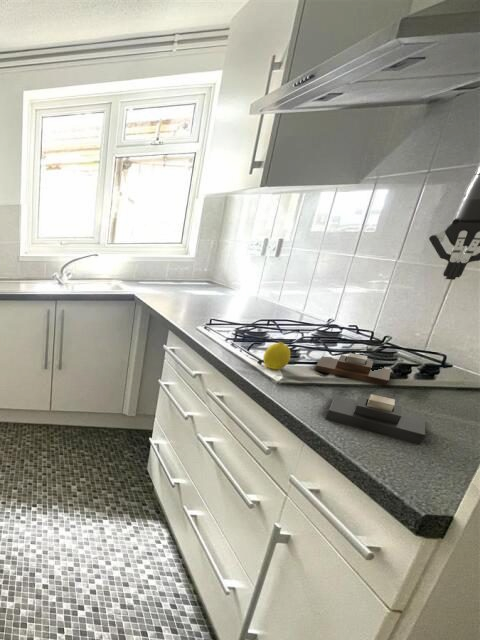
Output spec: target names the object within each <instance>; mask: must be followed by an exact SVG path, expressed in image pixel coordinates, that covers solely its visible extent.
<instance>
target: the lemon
mask: <svg viewBox="0 0 480 640" xmlns="http://www.w3.org/2000/svg"><path fill="white" fill-rule="evenodd" d="M290 359H291V349H290V347H289V346H288V345H286V344H285V343H284V342H282V341H280V342H276V343H273V344H271V345H269V346H268V347H267V349H266V350H265V352H264V354H263V363H264V366H265V367H267V368H268V369H271V370H281V369H283V368H285V367H286V366H287V365H288V363H289V362H290Z"/></svg>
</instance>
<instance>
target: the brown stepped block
mask: <svg viewBox="0 0 480 640" xmlns="http://www.w3.org/2000/svg"><path fill="white" fill-rule="evenodd" d="M347 357H348V355H344V354H340V356H339V358H333V357H328V356H323V355H322V356H321V357H320V359H319V360H318V362H317V363H316V365H315V367H314V371H316V372H321V373H325V374H329V375H334V376H339V377H342V378H343V377H344V378H349V379H353V380H357V381H362V382H367V383H372V384H377V385H381V386H388V383H389V382H390V378H391V377H390V376H391V371H392V369H389V368H384V367H381V368H382V369H378V370H374V371H372V370H371V368H372V366H374V365H373V364H374V360H370V359H367V360H366V362H365V364H364V365H363V364H358V363H352V362H347V361H346V359H347Z"/></svg>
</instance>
